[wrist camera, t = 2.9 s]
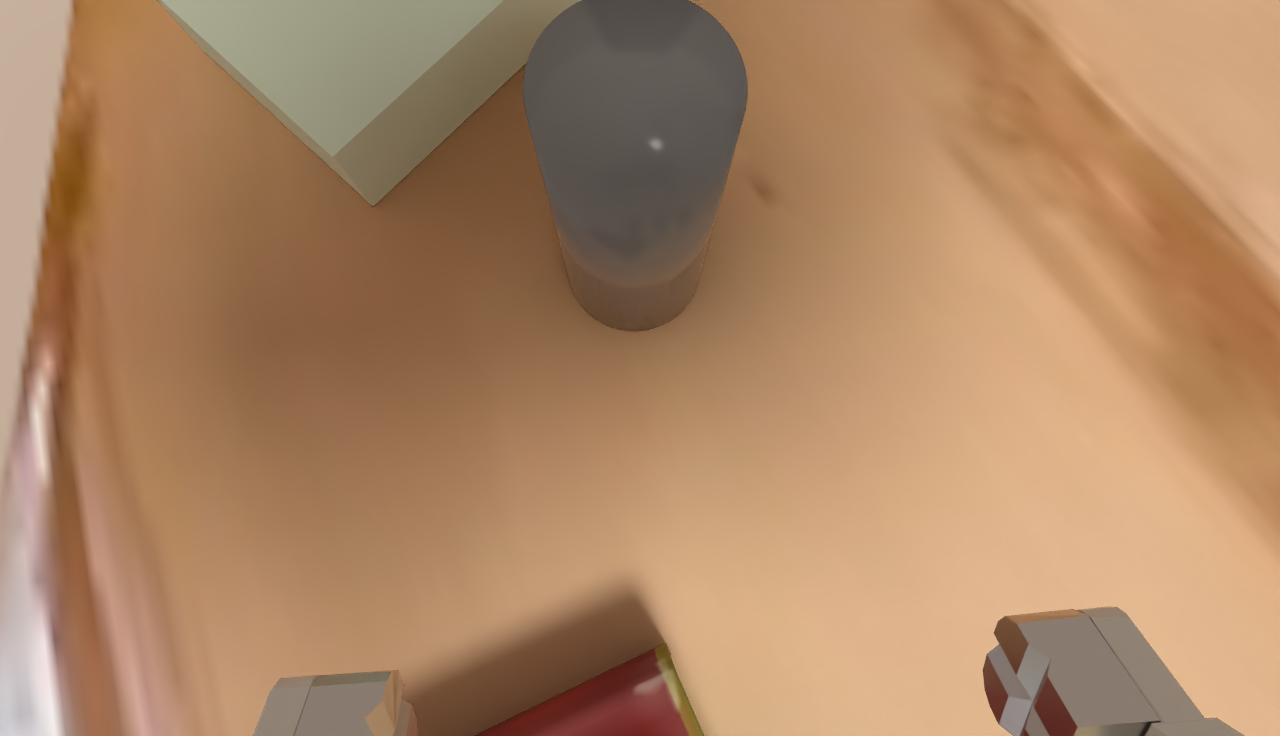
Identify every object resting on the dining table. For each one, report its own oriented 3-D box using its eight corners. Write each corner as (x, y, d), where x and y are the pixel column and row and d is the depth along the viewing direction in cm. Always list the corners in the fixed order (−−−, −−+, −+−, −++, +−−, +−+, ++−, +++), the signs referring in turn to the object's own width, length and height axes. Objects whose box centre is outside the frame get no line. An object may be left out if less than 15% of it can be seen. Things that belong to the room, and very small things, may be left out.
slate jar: (630, 180, 29) (629, -52, 17) (727, 263, 28) (793, 81, 17) (540, 270, 28) (475, 91, 17) (638, 358, 28) (642, 236, 16)
